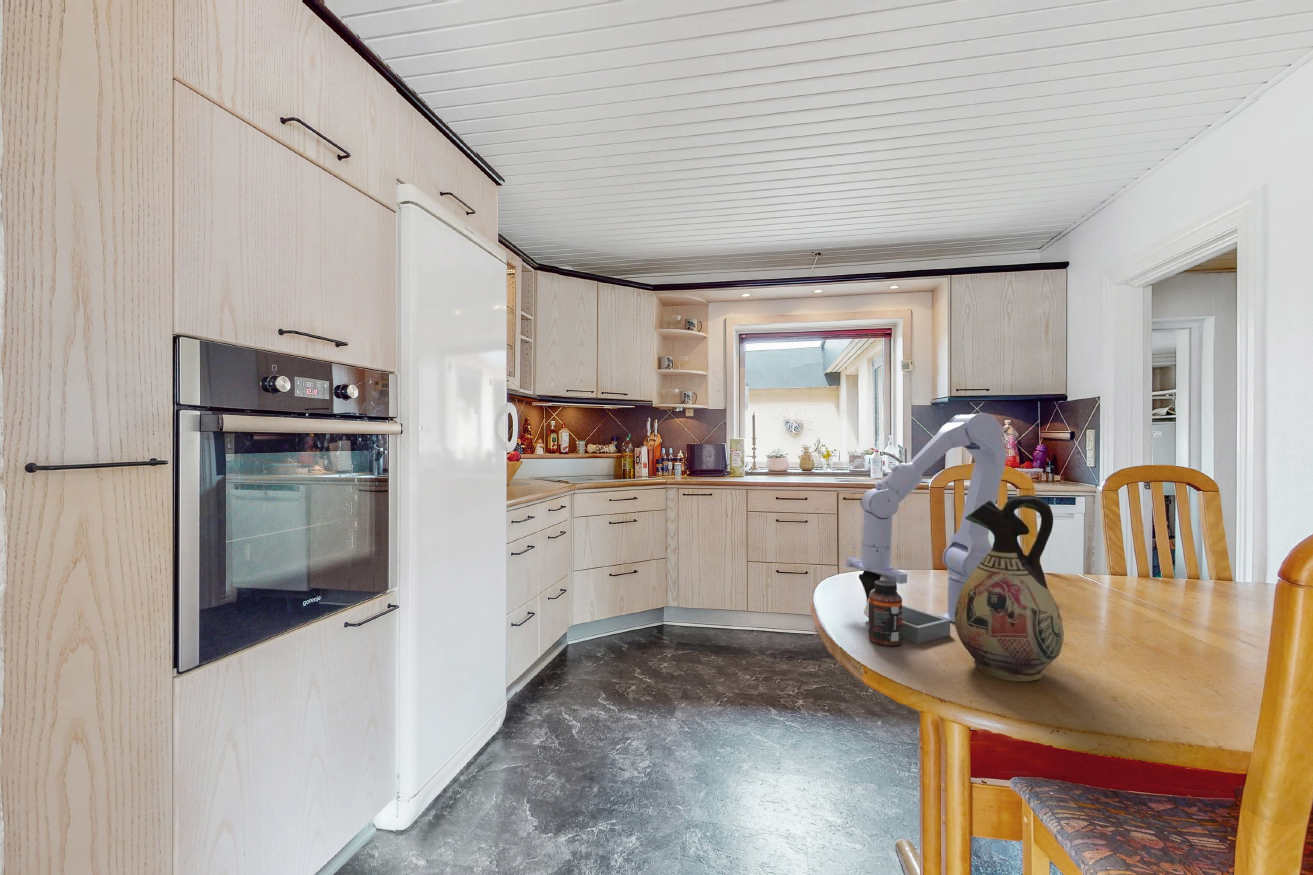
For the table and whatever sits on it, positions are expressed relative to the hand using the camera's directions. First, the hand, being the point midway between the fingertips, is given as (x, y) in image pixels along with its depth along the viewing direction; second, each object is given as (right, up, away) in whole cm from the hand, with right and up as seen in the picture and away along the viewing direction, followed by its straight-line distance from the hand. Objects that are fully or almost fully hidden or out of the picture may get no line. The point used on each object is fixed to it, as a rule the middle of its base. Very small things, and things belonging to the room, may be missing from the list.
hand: (872, 607), depth 119 cm
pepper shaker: (0, -2, -1) cm, 2 cm away
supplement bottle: (-3, -3, -13) cm, 14 cm away
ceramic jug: (+13, -3, -27) cm, 30 cm away
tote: (+5, -2, -8) cm, 10 cm away
